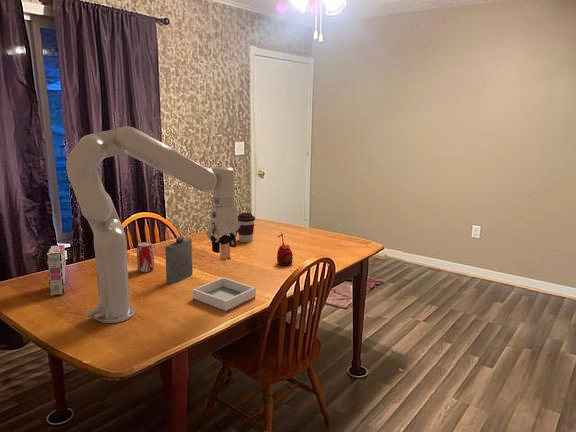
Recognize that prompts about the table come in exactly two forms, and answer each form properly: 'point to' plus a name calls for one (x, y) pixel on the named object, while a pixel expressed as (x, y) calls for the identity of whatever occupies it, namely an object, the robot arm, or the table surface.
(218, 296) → the shadow box frame
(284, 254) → the dark red rounded piece
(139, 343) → the table surface
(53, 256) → the candy bar box
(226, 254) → the grandmother figurine
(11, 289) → the table surface
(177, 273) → the flask
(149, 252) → the soda can
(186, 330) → the table surface
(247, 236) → the coffee cup
